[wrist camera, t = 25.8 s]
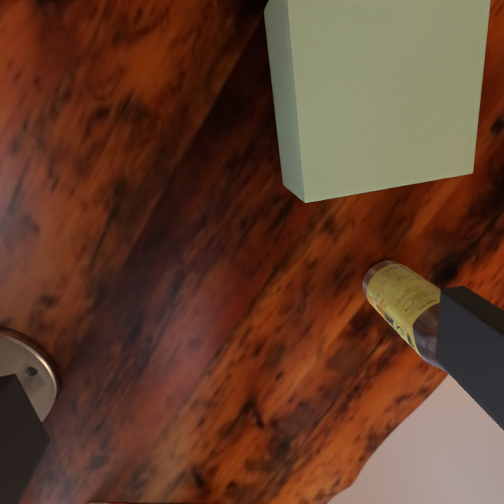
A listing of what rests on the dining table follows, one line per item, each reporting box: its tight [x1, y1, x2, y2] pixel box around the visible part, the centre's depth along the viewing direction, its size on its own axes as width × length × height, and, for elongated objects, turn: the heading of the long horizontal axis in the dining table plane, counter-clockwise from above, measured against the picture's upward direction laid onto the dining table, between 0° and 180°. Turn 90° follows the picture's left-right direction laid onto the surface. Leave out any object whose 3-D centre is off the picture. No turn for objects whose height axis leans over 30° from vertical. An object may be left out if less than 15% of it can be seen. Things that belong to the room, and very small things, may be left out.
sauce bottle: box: [362, 260, 448, 373], centre depth 32 cm, size 6×6×20 cm
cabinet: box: [264, 0, 491, 203], centre depth 29 cm, size 16×15×9 cm
